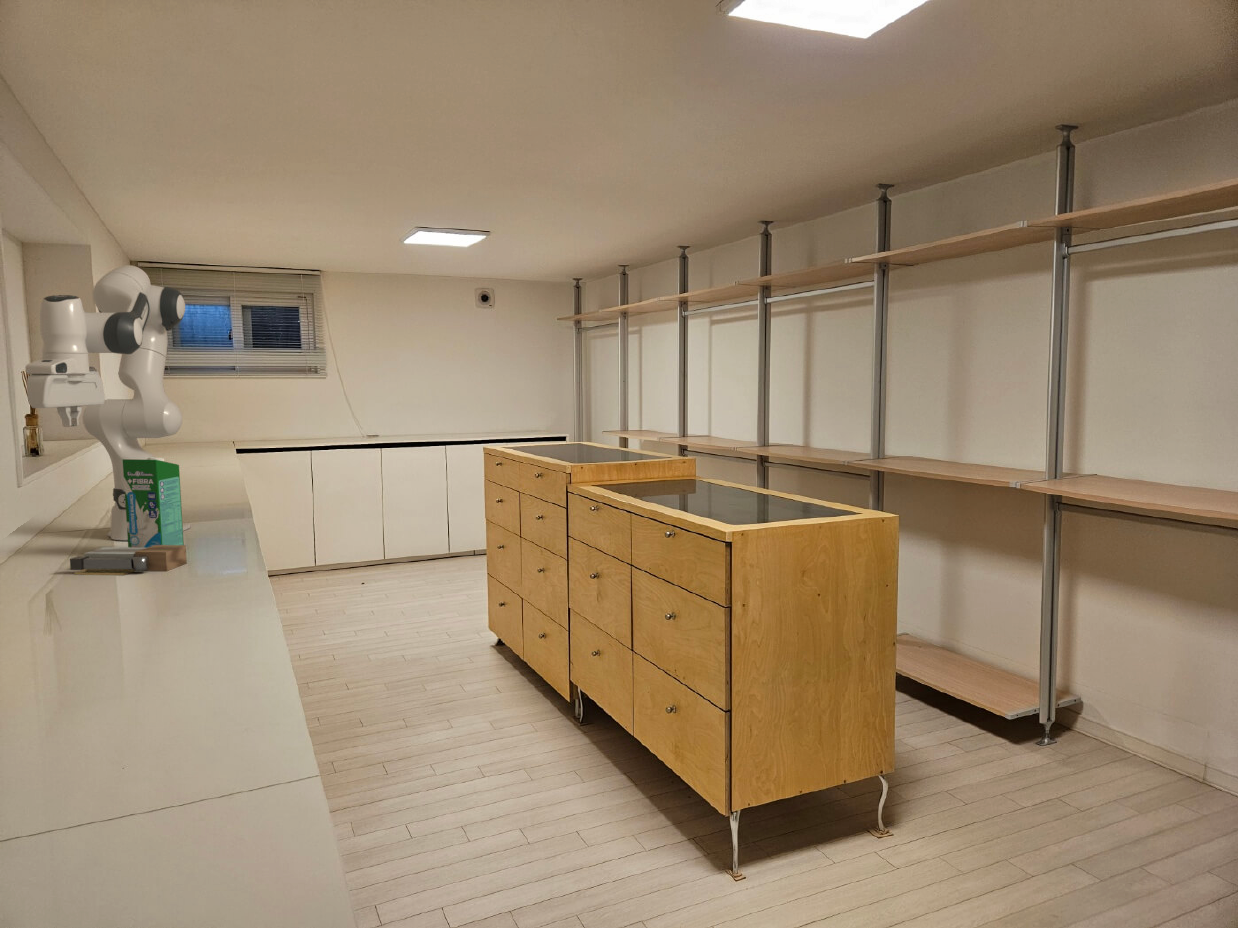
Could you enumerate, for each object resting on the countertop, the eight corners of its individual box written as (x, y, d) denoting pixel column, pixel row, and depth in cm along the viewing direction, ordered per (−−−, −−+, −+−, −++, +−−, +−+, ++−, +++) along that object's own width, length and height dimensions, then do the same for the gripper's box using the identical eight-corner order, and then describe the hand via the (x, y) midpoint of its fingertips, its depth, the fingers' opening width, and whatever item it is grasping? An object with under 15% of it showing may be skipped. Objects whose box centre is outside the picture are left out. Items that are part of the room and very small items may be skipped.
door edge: (108, 562, 203) (107, 544, 202) (186, 563, 202) (185, 545, 201) (85, 569, 195) (84, 551, 194) (166, 571, 194) (165, 552, 193)
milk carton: (184, 550, 216) (178, 455, 214) (162, 558, 207) (156, 459, 205) (152, 549, 217) (146, 455, 215) (128, 557, 208) (121, 458, 206)
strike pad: (86, 570, 195) (86, 568, 195) (135, 570, 194) (135, 569, 194) (74, 574, 191) (74, 572, 191) (124, 575, 190) (124, 573, 190)
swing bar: (150, 567, 193) (150, 555, 193) (143, 570, 190) (142, 558, 190) (79, 567, 194) (78, 555, 193) (70, 570, 191) (69, 558, 190)
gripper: (85, 366, 200) (89, 423, 202) (19, 366, 180) (24, 429, 181) (110, 366, 200) (113, 423, 201) (46, 366, 180) (51, 429, 181)
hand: (70, 426), depth 191 cm, fingers closed
